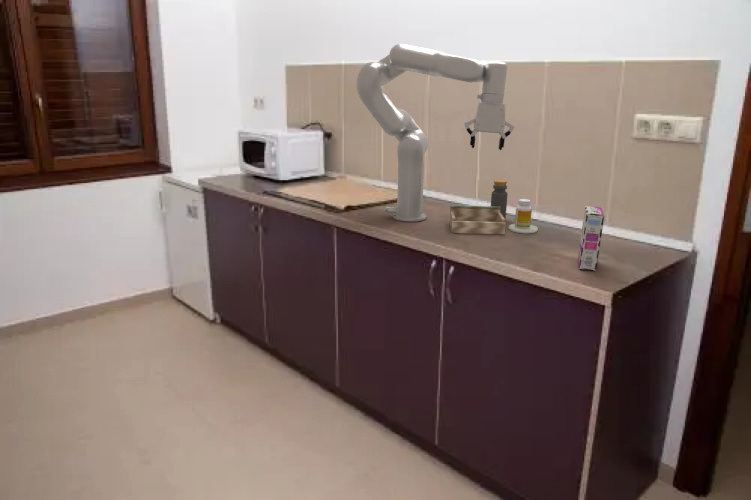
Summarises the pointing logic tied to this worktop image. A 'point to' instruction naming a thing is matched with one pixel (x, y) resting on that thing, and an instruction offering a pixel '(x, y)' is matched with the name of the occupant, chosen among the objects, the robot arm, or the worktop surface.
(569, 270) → the worktop surface
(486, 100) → the robot arm
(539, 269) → the worktop surface
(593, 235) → the candy bar box
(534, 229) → the saucer
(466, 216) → the beige rectangular tray
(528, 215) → the supplement bottle
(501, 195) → the bottle
